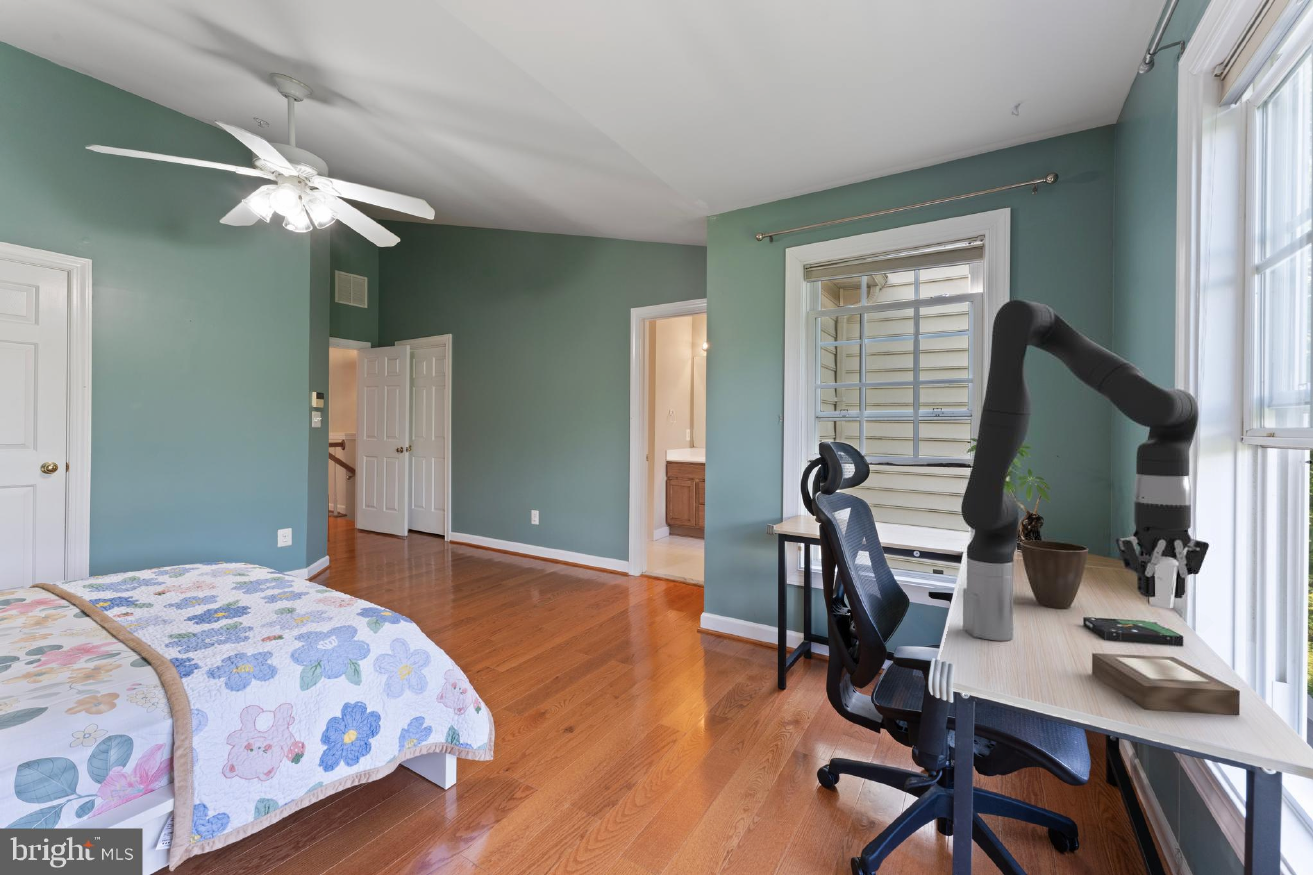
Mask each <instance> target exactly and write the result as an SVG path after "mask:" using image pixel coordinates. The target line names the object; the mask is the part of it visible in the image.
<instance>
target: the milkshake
mask: <svg viewBox="0 0 1313 875" xmlns="http://www.w3.org/2000/svg"><path fill="white" fill-rule="evenodd" d="M1146 558H1150V556H1147V557H1146ZM1178 567H1179V562H1178V561H1177V560H1176V559H1175V558H1170V557H1164V556H1161V557H1160V560H1159V563H1158V564H1157V565H1155V568H1154V572H1153V575H1152V576H1151V577H1153V597H1147V603H1148V605H1150V606H1152V607H1156V608H1159V609H1173V608H1174V602H1175V598H1174V595H1175V587H1176V579H1177V573H1178Z"/></svg>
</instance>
